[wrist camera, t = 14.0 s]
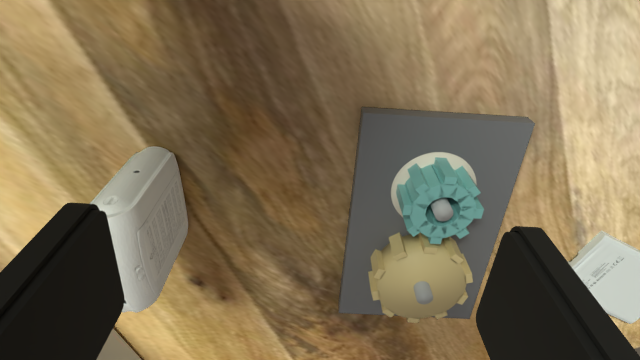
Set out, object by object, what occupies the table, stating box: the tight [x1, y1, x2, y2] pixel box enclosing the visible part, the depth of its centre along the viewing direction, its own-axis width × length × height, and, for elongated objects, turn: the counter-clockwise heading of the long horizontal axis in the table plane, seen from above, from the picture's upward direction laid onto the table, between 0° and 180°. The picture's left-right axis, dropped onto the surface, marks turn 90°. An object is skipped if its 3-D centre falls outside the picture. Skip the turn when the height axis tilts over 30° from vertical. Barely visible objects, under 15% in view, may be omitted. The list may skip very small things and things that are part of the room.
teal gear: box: [396, 157, 484, 244], centre depth 39 cm, size 7×7×4 cm
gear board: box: [339, 107, 535, 323], centre depth 42 cm, size 24×15×6 cm, turn 176°
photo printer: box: [90, 146, 188, 312], centre depth 37 cm, size 10×4×12 cm, turn 0°
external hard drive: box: [568, 231, 640, 324], centre depth 48 cm, size 2×8×12 cm
